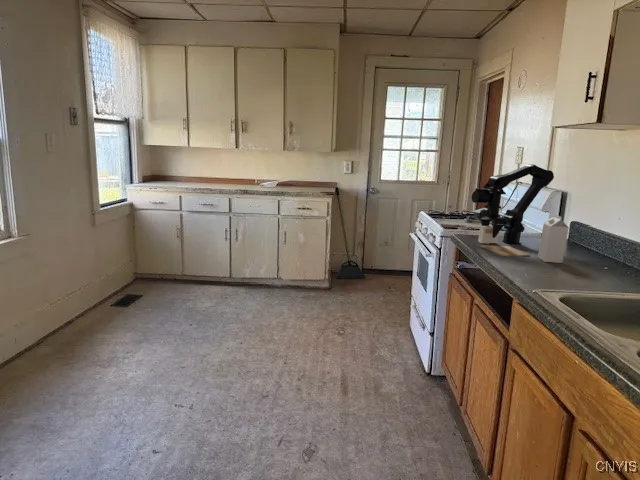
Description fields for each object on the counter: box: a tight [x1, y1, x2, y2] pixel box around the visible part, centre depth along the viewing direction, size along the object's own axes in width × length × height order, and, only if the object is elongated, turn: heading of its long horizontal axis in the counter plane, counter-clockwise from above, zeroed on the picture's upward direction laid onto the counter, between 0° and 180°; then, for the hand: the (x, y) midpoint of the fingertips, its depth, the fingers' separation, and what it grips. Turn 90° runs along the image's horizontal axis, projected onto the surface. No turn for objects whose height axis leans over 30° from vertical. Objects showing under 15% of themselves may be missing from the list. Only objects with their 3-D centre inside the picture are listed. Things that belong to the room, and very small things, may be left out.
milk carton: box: [537, 213, 570, 264], centre depth 179 cm, size 7×7×19 cm
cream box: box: [477, 225, 500, 244], centre depth 208 cm, size 8×4×8 cm, turn 98°
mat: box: [480, 244, 531, 257], centre depth 193 cm, size 14×16×1 cm
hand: (488, 235), depth 208 cm, fingers open, 9 cm apart
